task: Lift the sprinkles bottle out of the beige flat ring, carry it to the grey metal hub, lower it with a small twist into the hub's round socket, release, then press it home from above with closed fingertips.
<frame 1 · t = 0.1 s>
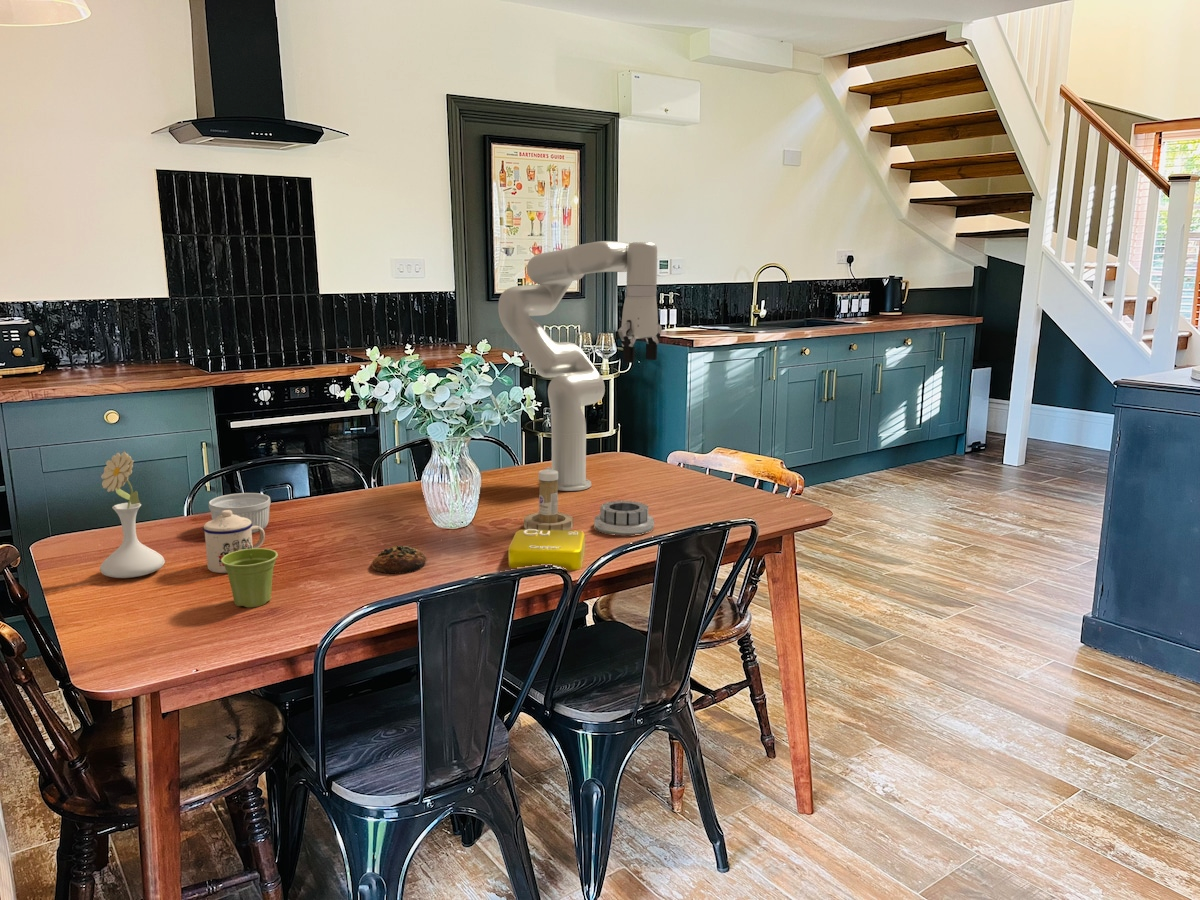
hand: (640, 361, 225), 37 cm above the table, tool pointing down, fingers open, 9 cm apart
teacup with lid: (238, 565, 179), on the table
beige flat ring: (548, 526, 208), on the table
element tile: (547, 560, 186), on the table
bread roll: (399, 567, 180), on the table
ramekin: (242, 529, 204), on the table
plant pot: (253, 603, 160), on the table
sprinkles bottle: (548, 527, 208), resting in beige flat ring
hub: (624, 527, 208), on the table
flower in vase: (134, 575, 173), on the table
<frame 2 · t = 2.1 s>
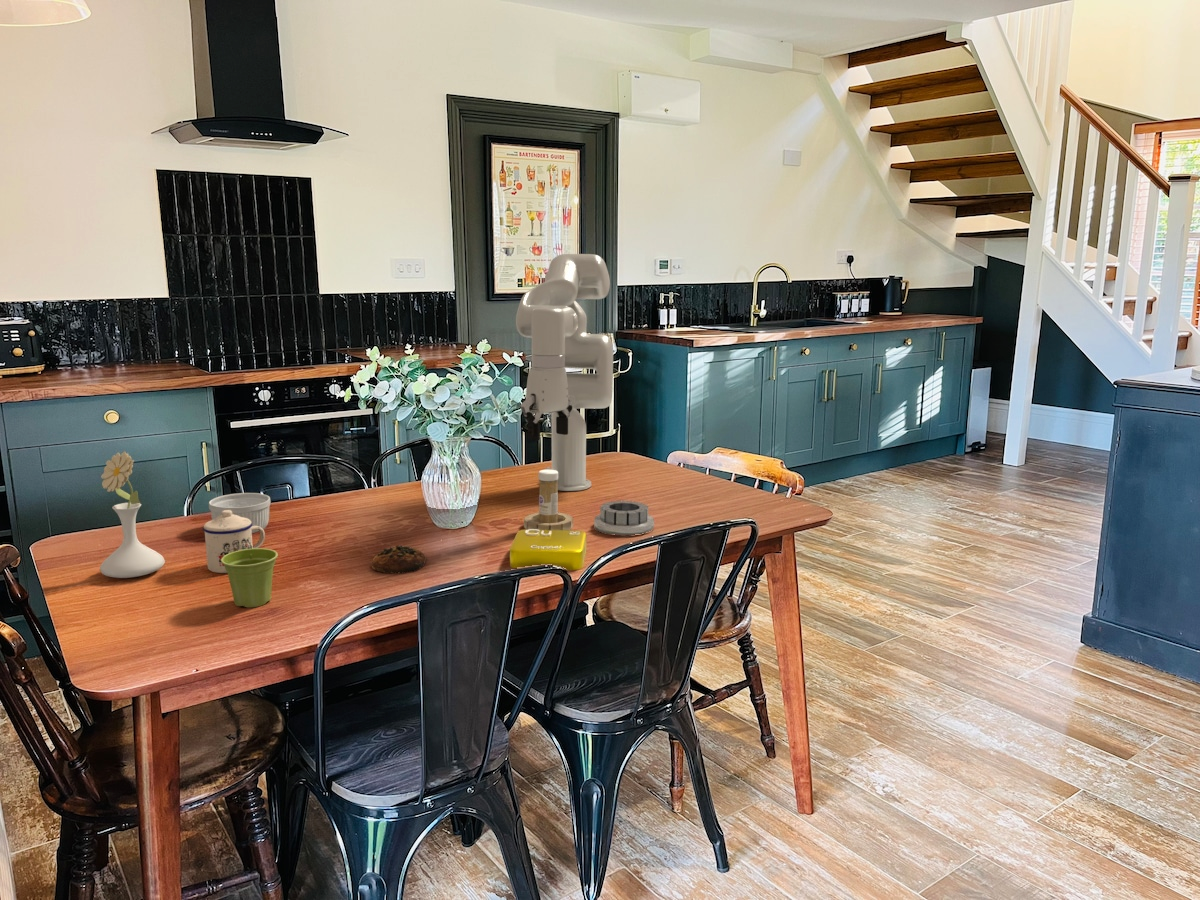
hand: (548, 436, 203), 22 cm above the table, tool pointing down, fingers open, 9 cm apart
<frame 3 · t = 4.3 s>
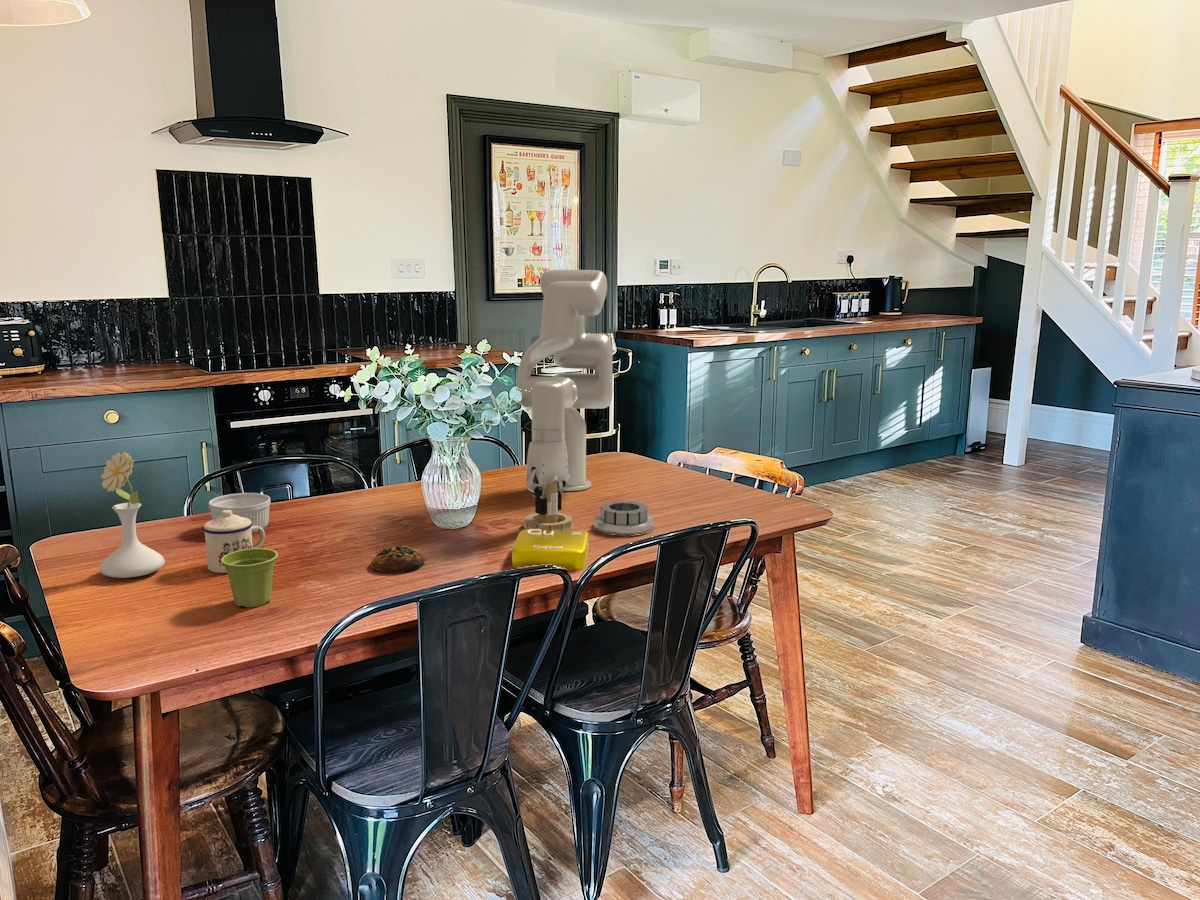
hand: (548, 510, 207), 4 cm above the table, tool pointing down, fingers closed on sprinkles bottle, 4 cm apart
sprinkles bottle: (548, 527, 208), resting in beige flat ring, touching gripper
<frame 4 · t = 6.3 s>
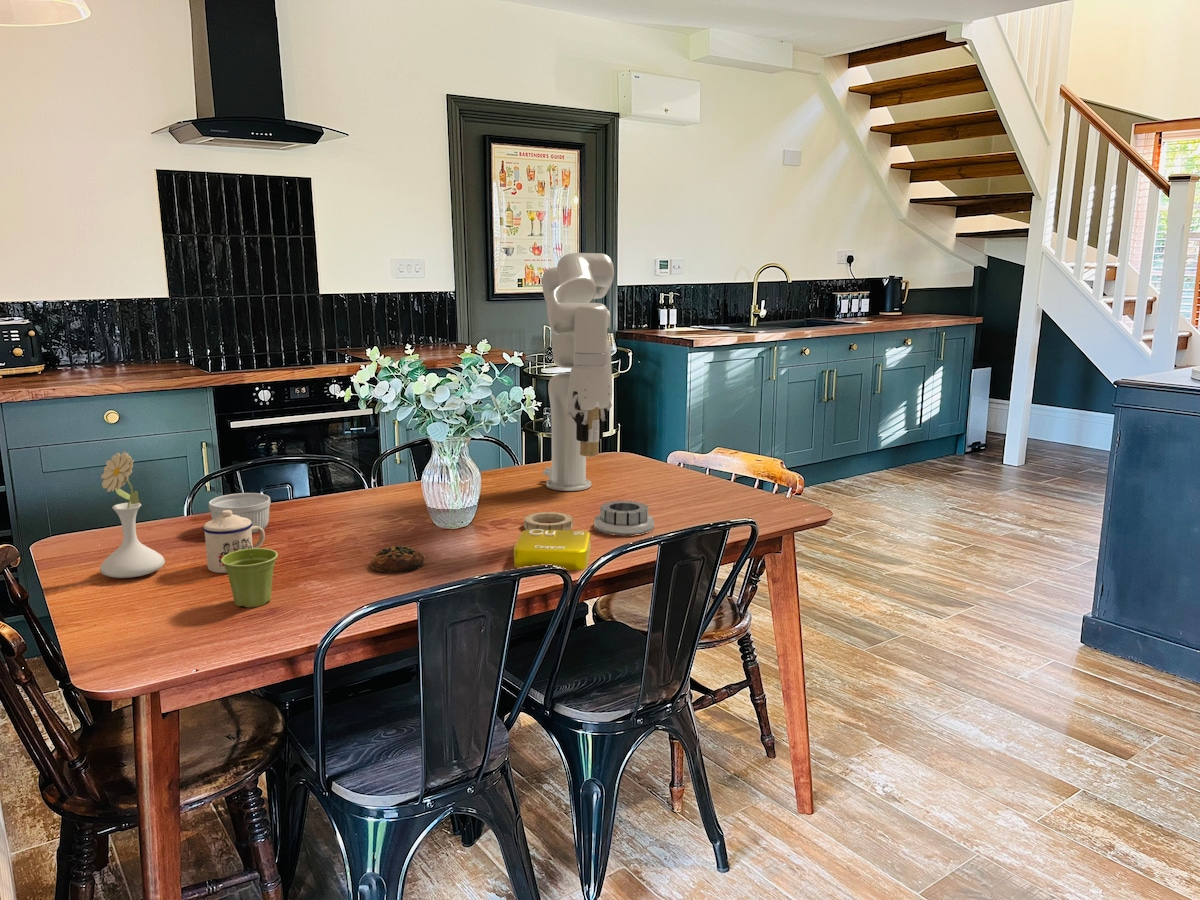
hand: (589, 438, 204), 21 cm above the table, tool pointing down, fingers closed on sprinkles bottle, 4 cm apart
sprinkles bottle: (589, 455, 204), point 17 cm above the table, touching gripper
when the fingers open (7 cm above the table, at t = 8.7 s): sprinkles bottle drops 1 cm, resting on hub.
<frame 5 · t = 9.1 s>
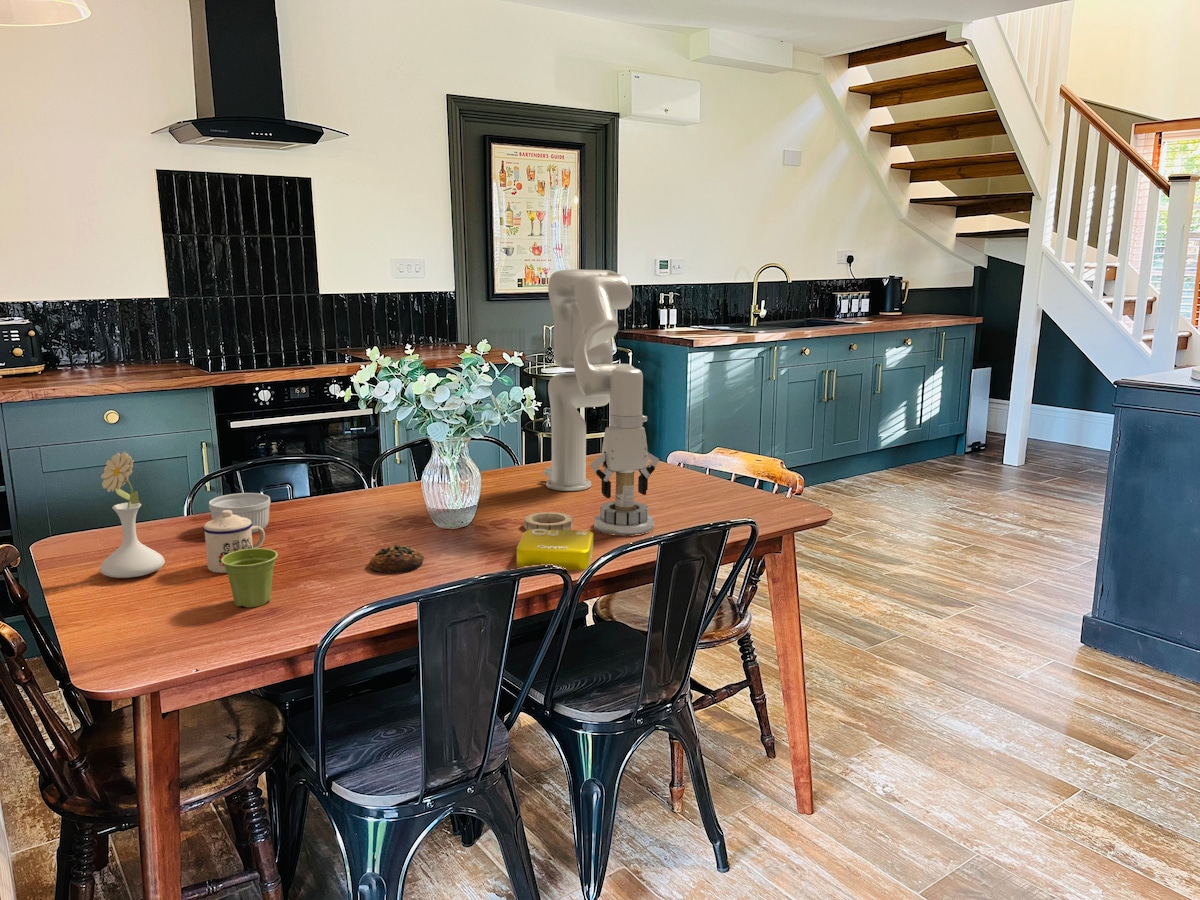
hand: (624, 495, 206), 8 cm above the table, tool pointing down, fingers open, 8 cm apart
sprinkles bottle: (624, 519, 208), point 2 cm above the table, touching hub
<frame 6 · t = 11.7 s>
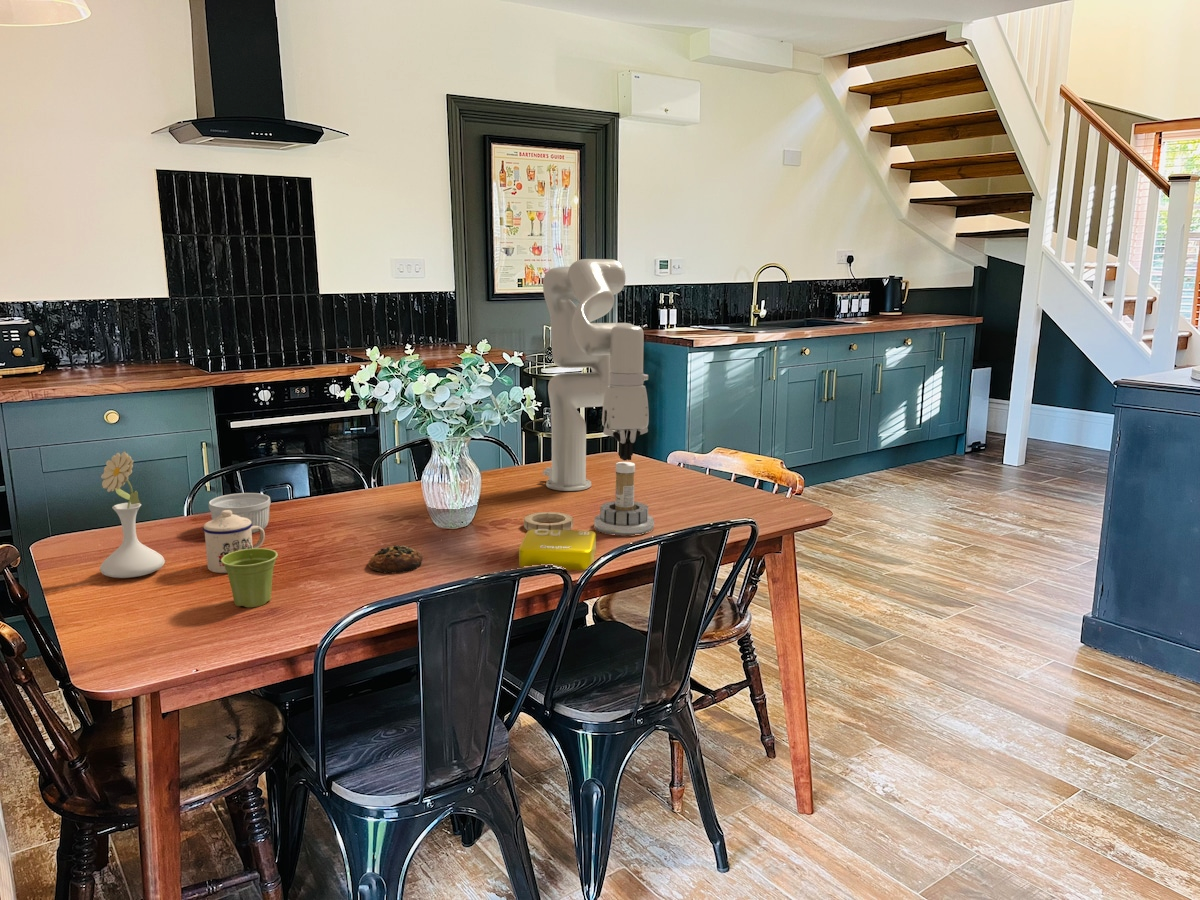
hand: (625, 459, 204), 17 cm above the table, tool pointing down, fingers closed
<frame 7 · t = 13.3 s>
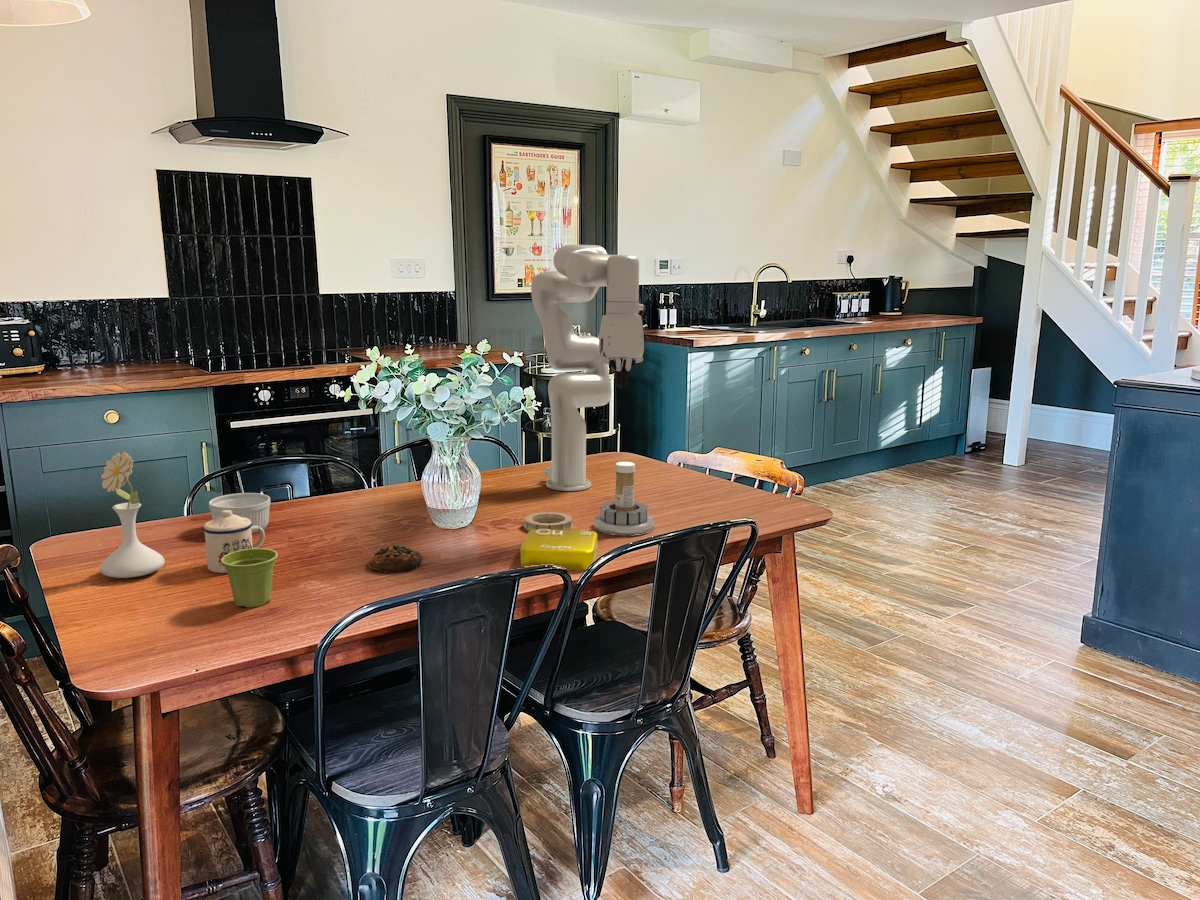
hand: (621, 387, 210), 32 cm above the table, tool pointing down, fingers closed
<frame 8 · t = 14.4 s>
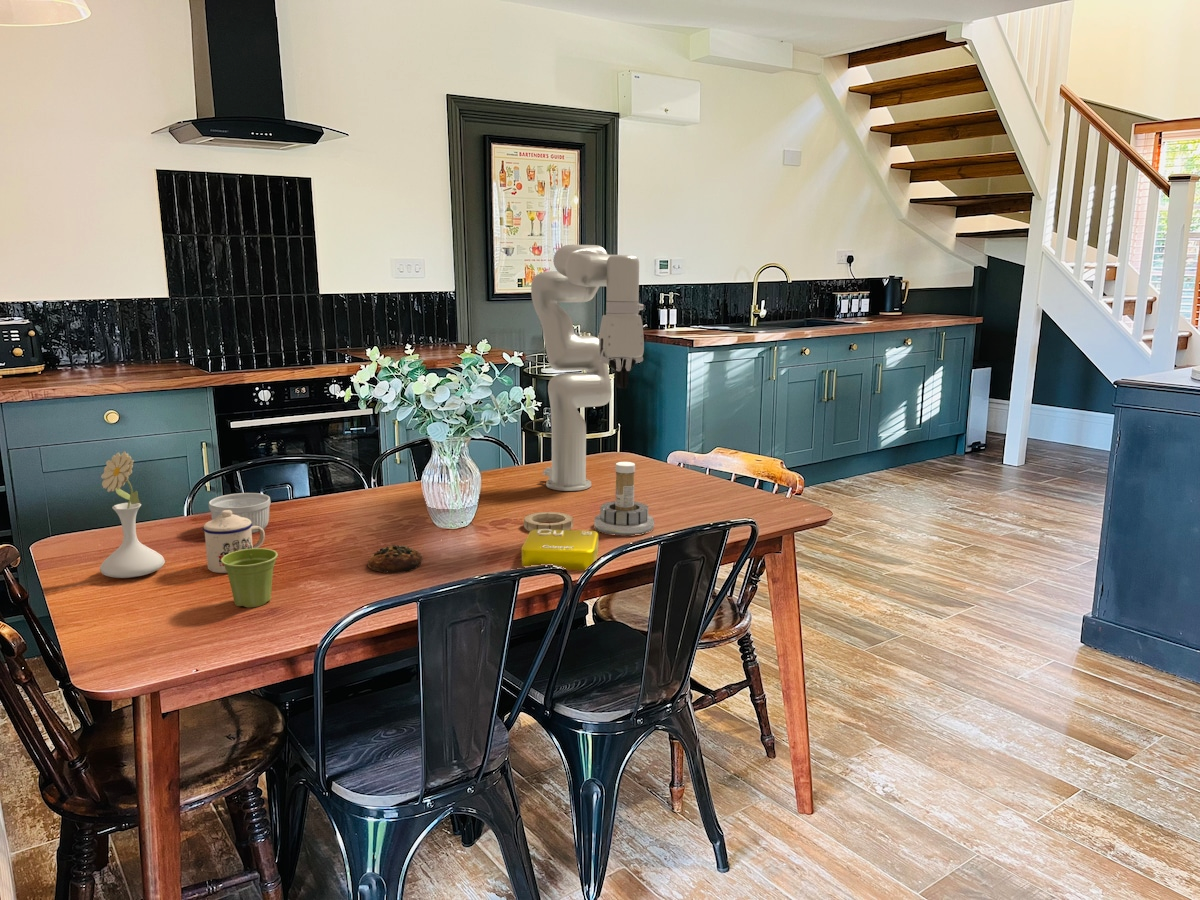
hand: (621, 387, 210), 32 cm above the table, tool pointing down, fingers closed
at the end: sprinkles bottle 0.2 cm from the hub (horizontally); sprinkles bottle point 1.8 cm above the table; sprinkles bottle tilted 0° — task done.
